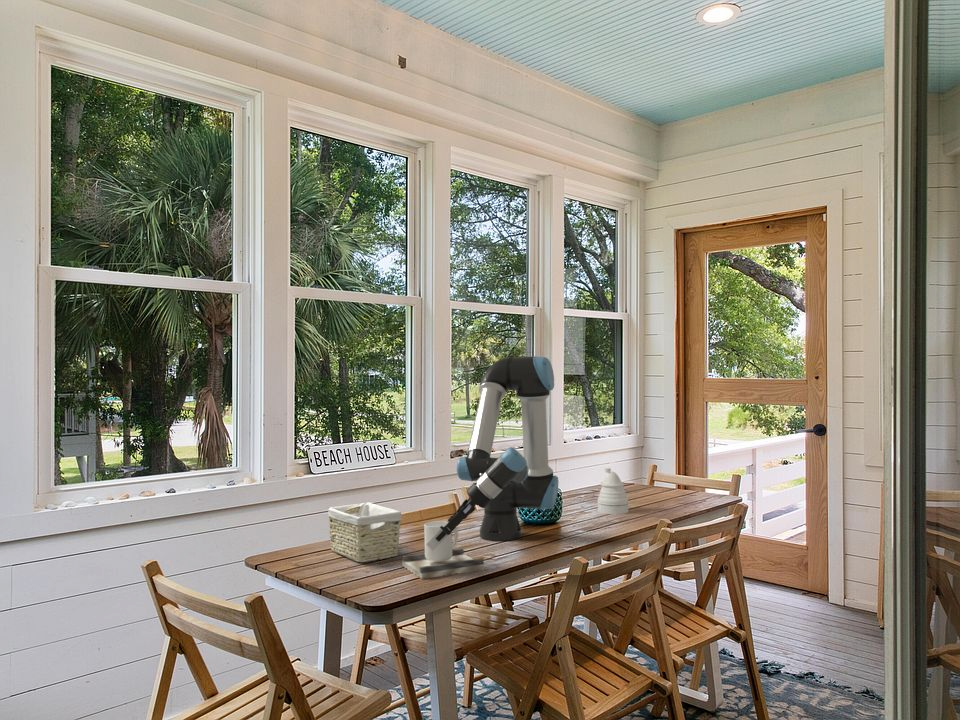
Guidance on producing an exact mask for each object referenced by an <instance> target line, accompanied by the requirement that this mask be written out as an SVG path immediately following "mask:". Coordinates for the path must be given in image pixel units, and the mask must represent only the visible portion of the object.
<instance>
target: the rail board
mask: <svg viewBox="0 0 960 720" xmlns="http://www.w3.org/2000/svg"><path fill="white" fill-rule="evenodd" d="M484 560H485V559H484V558H482V557H481V558H475V559H474V558H472V557H470V556H468V555H467V554H465V553H464V548H453V549H452V558H451V559H449V560H445V561H430V560H427V559H426V558H425V552H422V553H415V554H408V555H403V556H402V561H401V564H402V565H401V566H402V567H403V566H404V567H403V568H405V569H406V568H407V569H406V570H408V571H409V570H410V571H409V572H410V573H412V572H413V573H412V574H414V575H415V574H416V575H415V576H417V577H418V576H419V577H418V578H419V579H421V580H422V579H423V580H424V578H425V579H429V578H439V577H444V576H443V575H445V576H450V575H449V574H451V575H456V574H455V573H458V574H463V573H462V572H465V573H470V571H471V572H476V571H484V570H485V561H484ZM468 571H469V572H468Z"/></svg>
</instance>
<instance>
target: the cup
mask: <svg viewBox="0 0 960 720" xmlns="http://www.w3.org/2000/svg"><path fill="white" fill-rule="evenodd" d="M447 523H448V521H447V522H446V521H445V520H444V521H443V520H438V521H437V520H436V521H429V522H425V523H424V524H423V526H424V529H423V530H424V534H423V535H424V553H425V558H426V559H427V560H430V561H445V560H449V559H451V558H452V549H455V547H456V546H457V544H458V540H459V533H458V528H457V527H456V528H455V529H454V530H453V531H452V532H451V534H449V535H448V536H447V537H446V538H445V539H444V540H443V541H442V542H441V543H440V544H439V545H438V546H437V547H436V548H435V549H434V550H433V551H432V550H431V549H430V548H429V547H428V546H427V545H426V544H427V543H428V542H429V541H430V540H431V539H432V538H433V537H434V536H435V535H436V534H437V533H438V532H439V531H440V530H441V528H440V527H441V526H443V527H444V526H445V525H446V524H447ZM448 529H449V528H448ZM449 530H450V529H449ZM453 534H454V539H453Z"/></svg>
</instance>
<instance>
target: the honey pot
mask: <svg viewBox="0 0 960 720" xmlns="http://www.w3.org/2000/svg"><path fill="white" fill-rule="evenodd" d="M611 470H612V469H611V468H609V467H608V468H607V467H605V468H604V471H605V473H606V474H607V475H606V477H605V478H604V480H603V481H602V482H600V484H599V485H600V486H601V489H600V490H599V494H598V497H597V512H598V513H600V512H601V513H600V514H605V513H607V514H606V515H624V514H628V513H629V498H628V495H627V493H626V489H625V488H624V486H625V484H624V482H622V480H621V479H620V477H619V475H618V474H617V473H616V472H614V471H611Z"/></svg>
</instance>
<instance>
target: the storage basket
mask: <svg viewBox="0 0 960 720" xmlns="http://www.w3.org/2000/svg"><path fill="white" fill-rule="evenodd" d="M355 514H356V515H355ZM327 517H328V519H329V522H328V523H329V530H328V531H329V539H330V543H329V544H330V551H332V552H334V553H335V554H338V555H341V556H342V555H343V557H346V558H347V559H350V560H352V561H355V562H357V563H366V562H372V561H373V562H375V561H377V560H383V559H390V558H395V557H397V556H398V554H399V547H400V546H399V544H400V529H401V524H402V523H401V521H402V511H400V510H396V509H393V508H390V507H385V506H382V505H378V504H375V503H372V502H369V501H368V502H363V503H361V502H360V503H354V504H347V505H345V504H344V505H340V506H339V505H338V506H330V507H329V508H328V512H327Z"/></svg>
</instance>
